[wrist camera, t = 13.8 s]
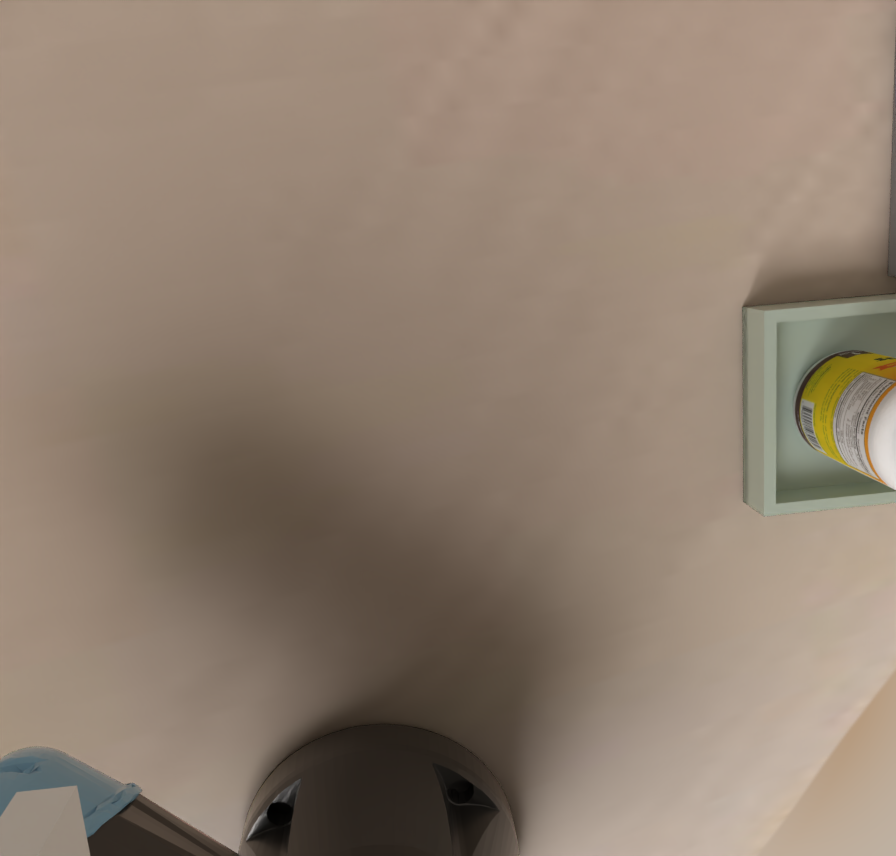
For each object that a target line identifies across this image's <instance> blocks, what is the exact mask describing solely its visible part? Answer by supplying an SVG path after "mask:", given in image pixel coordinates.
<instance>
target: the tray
mask: <svg viewBox="0 0 896 856" xmlns="http://www.w3.org/2000/svg"><path fill="white" fill-rule="evenodd" d="M742 313H743V502H745V503H746V504H747V505H749V506H750V507H752V508H753V509H754V510H756V511H757V512H759V513H760V514H761V515H763V516H764V517H765V516H774V515H784V514H793V513H803V512H813V511H822V510H832V509H842V508H851V507H861V506H871V505H880V504H890V503H896V490H894V489H892V488H890V487H888V486H886V485H884V484H882V483H880V482H878V481H876V480H874V479H872V478H870V477H868V476H866V475H864V474H862V473H860V472H858V471H856V470H853V469H851V468H849V467H847V466H845V465H843V464H841V463H839V462H837V461H835V460H833V459H831V458H829V457H827V456H825V455H823V454H821V453H819V452H817V451H816V450H814V449H813V448H812V447H810V446H809V445H808V444H807V443H806V442H805V441H804V440H803V438H802V437H801V435H800V434H799V432H798V430H797V427H796V425H795V421H794V417H793V401H794V396H795V392H796V390H797V387H798V385H799V383H800V381H801V379H802V378H803V376H804V375H805V374H806V372H807V371H808V370H809V369H810V368H811V367H812V366H813V365H814V364H815V363H817V362H818V361H819V360H821V359H823V358H824V357H826V356H828V355H830V354H833V353H836V352H840V351H846V350H860V351H866V352H872V353H876V354H880V355H884V356H889V357H893V358H896V293H893V294H881V295H870V296H859V297H848V298H837V299H825V300H814V301H803V302H792V303H781V304H770V305H758V306H747V307H742Z"/></svg>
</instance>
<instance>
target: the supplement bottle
mask: <svg viewBox="0 0 896 856" xmlns="http://www.w3.org/2000/svg"><path fill="white" fill-rule="evenodd" d="M793 417H794V421H795V425H796V427H797V430H798V432H799V434H800V435H801V437H802V438H803V440H804V441H805V442H806V443H807V444H808V445H809V446H810V447H812V448H813V449H814V450H816V451H817V452H819V453H821V454H823V455H825V456H827V457H829V458H831V459H833V460H835V461H837V462H839V463H841V464H843V465H845V466H847V467H849V468H851V469H853V470H856V471H858V472H860V473H862V474H864V475H866V476H868V477H870V478H872V479H874V480H876V481H878V482H880V483H882V484H884V485H886V486H888V487H890V488H892V489H894V490H896V358H893V357H889V356H884V355H880V354H876V353H872V352H866V351H860V350H846V351H840V352H836V353H833V354H830V355H828V356H826V357H824V358H823V359H821V360H819V361H818V362H817V363H815V364H814V365H813V366H812V367H811V368H810V369H809V370H808V371H807V372H806V374H805V375H804V376H803V378H802V379H801V381H800V383H799V385H798V387H797V390H796V392H795V396H794V401H793Z"/></svg>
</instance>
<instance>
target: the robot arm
mask: <svg viewBox="0 0 896 856" xmlns="http://www.w3.org/2000/svg"><path fill="white" fill-rule="evenodd" d="M141 791H142V789H141V788H140V787H139V786H137V785H136V784H134V783H131V784H125V785H124V784H122V783H120V782H118V781H116V780H115V779H113V778H111V777H109V776H107V775H105V774H103V773H101V772H99V771H98V770H96V769H94V768H92V767H90V766H88V765H86V764H84V763H83V762H81V761H79V760H77V759H75V758H73V757H71V756H69V755H67V754H66V753H64V752H62V751H59V750H56V749H53V748H48V747H29V748H24V749H20V750H17V751H14V752H11V753H9V754H7V755H5V756H4V757H2V758H1V759H0V856H519V847H518V840H517V836H516V831H515V826H514V822H513V817H512V813H511V810H510V806H509V803H508V801H507V798H506V796H505V794H504V792H503V790H502V788H501V786H500V785H499V783H498V781H497V780H496V778H495V777H494V776H493V774H492V773H491V772H490V771H489V769H488V768H487V767H486V766H485V765H484V764H483V763H482V762H481V761H480V760H479V759H478V758H477V757H476V756H474V755H473V754H472V753H471V752H469V751H468V750H466V749H465V748H464V747H462V746H460V745H459V744H457V743H455V742H453V741H452V740H450V739H448V738H445V737H443V736H441V735H438V734H436V733H433V732H430V731H427V730H423V729H419V728H414V727H409V726H402V725H388V724H384V725H366V726H359V727H353V728H349V729H345V730H341V731H338V732H334V733H332V734H329V735H326V736H324V737H322V738H319V739H317V740H315V741H313V742H311V743H309V744H307V745H306V746H304V747H302V748H301V749H299V750H298V751H296V752H295V753H294V754H292V755H291V756H289V757H288V758H287V759H286V760H285V761H283V762H282V763H281V764H280V765H279V766H278V767H277V768H276V769H275V770H274V771H273V772H272V773H271V775H270V776H269V777H268V778H267V780H266V781H265V782H264V783H263V785H262V786H261V788H260V790H259V791H258V793H257V794H256V796H255V798H254V800H253V802H252V804H251V807H250V809H249V812H248V815H247V818H246V822H245V826H244V830H243V834H242V839H241V843H240V847H239V852H238V854H237V853H236V852H234V851H232V850H231V849H229V848H227V847H226V846H224V845H222V844H221V843H219V842H217V841H216V840H214V839H213V838H211V837H209V836H208V835H206V834H204V833H203V832H201V831H199V830H198V829H196V828H195V827H193V826H191V825H190V824H188V823H186V822H185V821H183V820H181V819H180V818H178V817H176V816H175V815H173V814H172V813H170V812H168V811H167V810H165V809H163V808H162V807H160V806H158V805H157V804H155V803H154V802H152V801H150V800H149V799H147V798H145V797H144V796H142V795H141V794H139V793H140V792H141Z"/></svg>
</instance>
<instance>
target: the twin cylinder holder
mask: <svg viewBox="0 0 896 856" xmlns="http://www.w3.org/2000/svg"><path fill="white" fill-rule="evenodd" d="M888 276H896V44H895V75H894V105H893V136H892V167H891V198H890V228H889V259H888Z"/></svg>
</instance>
